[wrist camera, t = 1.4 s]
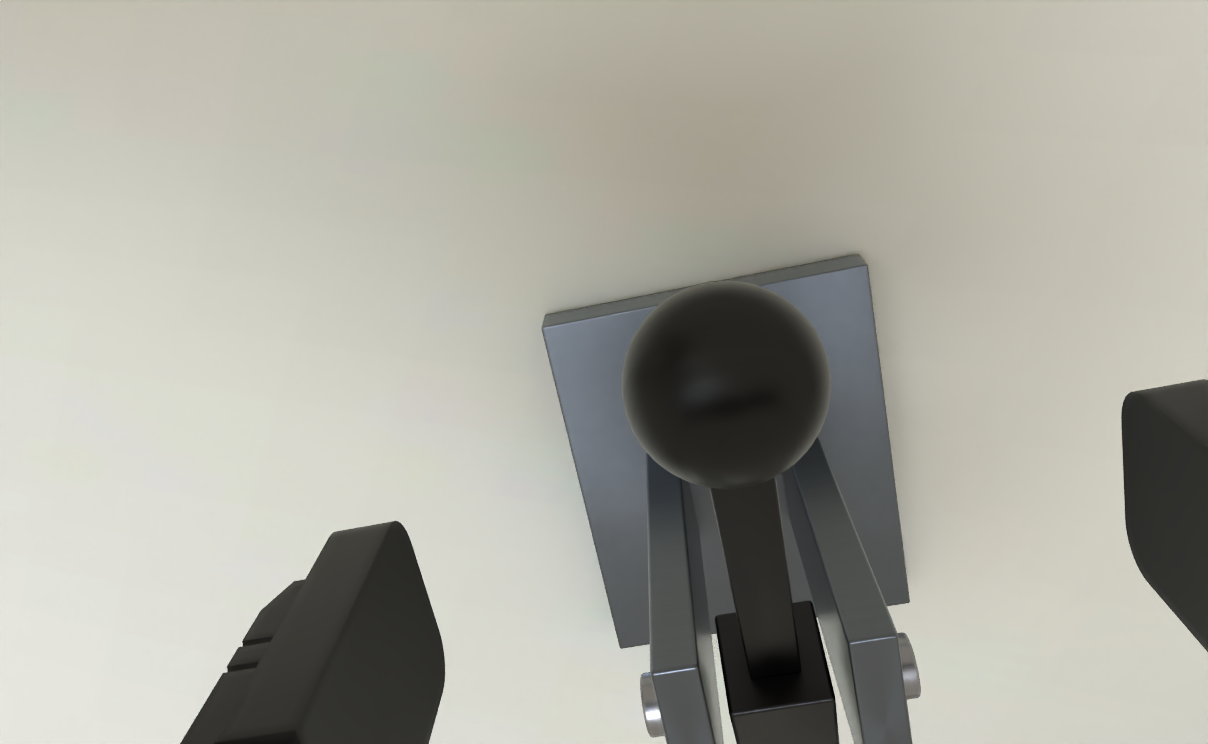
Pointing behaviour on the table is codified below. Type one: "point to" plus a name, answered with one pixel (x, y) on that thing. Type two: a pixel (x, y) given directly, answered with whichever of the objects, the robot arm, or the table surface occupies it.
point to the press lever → (742, 480)
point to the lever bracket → (689, 528)
